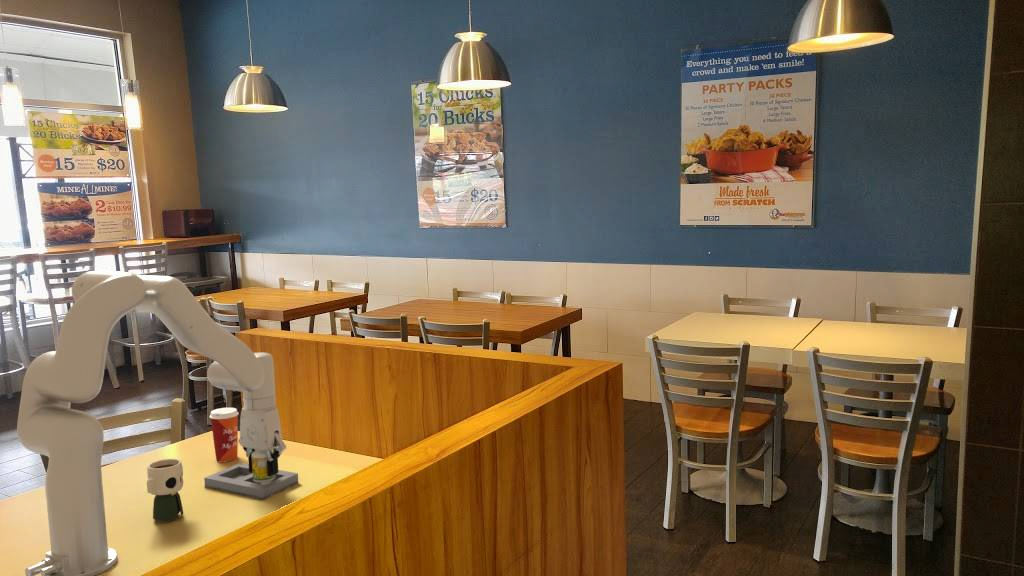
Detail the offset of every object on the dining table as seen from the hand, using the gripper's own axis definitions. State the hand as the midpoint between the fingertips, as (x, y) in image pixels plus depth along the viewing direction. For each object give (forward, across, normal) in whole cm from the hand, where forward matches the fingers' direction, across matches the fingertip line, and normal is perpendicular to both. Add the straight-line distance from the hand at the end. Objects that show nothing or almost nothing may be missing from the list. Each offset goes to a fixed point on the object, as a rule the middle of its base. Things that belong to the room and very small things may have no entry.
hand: (263, 472), depth 183 cm
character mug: (+4, -6, -23) cm, 24 cm away
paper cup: (+4, -26, +12) cm, 29 cm away
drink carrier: (+4, -4, 0) cm, 6 cm away
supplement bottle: (+2, 0, 0) cm, 2 cm away
